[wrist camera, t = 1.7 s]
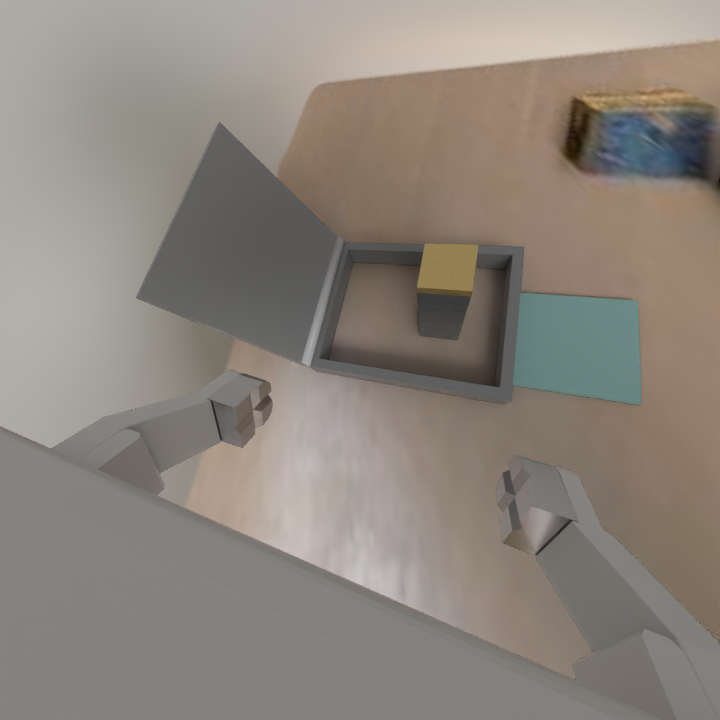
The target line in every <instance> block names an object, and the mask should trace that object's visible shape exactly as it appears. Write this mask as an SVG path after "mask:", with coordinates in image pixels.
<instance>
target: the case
mask: <svg viewBox="0 0 720 720" xmlns="http://www.w3.org/2000/svg"><path fill="white" fill-rule="evenodd" d="M424 246H425V244H391V243H350V242H345V240H344V239H343V238H342V237H339V236H338V237H337V236H336V235H335V234H334V233H333V232H332V231H331V230H330V229H329V228H328V227H327V226H326V225H325V224H323V223H322V222H321V221H320V220H319V219H318V218H317V217H316V216H315V215H314V214H313V213H312V212H311V211H310V210H309V209H308V208H307V207H306V206H305V205H304V204H303V203H302V202H301V201H300V200H299V199H298V198H297V197H296V196H295V195H294V194H293V193H292V192H291V191H290V190H289V189H288V188H287V187H286V186H285V185H284V184H283V183H282V182H280V181H279V180H278V179H277V178H276V177H275V176H274V175H273V174H272V173H271V172H270V171H269V170H268V169H267V168H266V167H265V166H264V165H263V164H262V163H261V162H260V161H259V160H258V159H257V158H256V157H255V156H254V155H253V154H252V153H251V152H250V151H249V150H248V149H247V148H246V147H244V145H243V144H242V143H240V141H238V140H237V139H236V138H235V137H234V136H233V135H232V134H231V133H230V132H229V131H228V130H227V129H226V128H225V127H224V126H223V125H222V124H221V123H219V124H218V125H217V126H216V128H215V130H214V132H213V134H212V136H211V138H210V141H209V143H208V145H207V147H206V149H205V151H204V153H203V155H202V158H201V160H200V162H199V164H198V166H197V168H196V170H195V173H194V175H193V177H192V179H191V181H190V183H189V185H188V187H187V190H186V192H185V194H184V196H183V199H182V201H181V203H180V205H179V207H178V209H177V211H176V213H175V215H174V217H173V220H172V222H171V224H170V226H169V228H168V230H167V232H166V234H165V237H164V239H163V241H162V243H161V245H160V247H159V250H158V251H157V254H156V256H155V258H154V260H153V262H152V264H151V266H150V269H149V271H148V273H147V275H146V277H145V279H144V282H143V284H142V286H141V288H140V290H139V292H138V294H137V297H136V298H137V299H139V300H142V301H144V302H147V303H149V304H152V305H154V306H156V307H159V308H162V309H164V310H167V311H169V312H171V313H174V314H177V315H179V316H181V317H184V318H186V319H189V320H191V321H194V322H197V323H199V324H201V325H204V326H206V327H209V328H211V329H214V330H216V331H219V332H221V333H224V334H227V335H229V336H231V337H234V338H236V339H239V340H241V341H244V342H246V343H249V344H251V345H254V346H256V347H259V348H261V349H264V350H266V351H269V352H271V353H274V354H276V355H279V356H281V357H283V358H286V359H288V360H289V361H293V362H296V363H298V364H301V365H305V366H309V367H311V368H312V369H314V370H315V371H317V372H323V373H328V374H334V375H340V376H345V377H351V378H357V379H362V380H368V381H374V382H379V383H385V384H391V385H396V386H402V387H408V388H413V389H419V390H425V391H430V392H436V393H442V394H447V395H453V396H459V397H464V398H470V399H476V400H481V401H487V402H493V403H498V404H506V403H508V402H510V401H512V389H513V377H514V365H515V353H516V341H517V329H518V317H519V305H520V293H521V281H522V269H523V257H524V247H514V246H478V253H477V260H476V268H485V269H506V273H505V283H504V293H503V303H502V313H501V323H500V333H499V343H498V353H497V363H496V373H495V383H494V387H493V386H487V385H481V384H474V383H468V382H462V381H456V380H449V379H443V378H437V377H431V376H425V375H418V374H412V373H406V372H400V371H393V370H387V369H381V368H375V367H368V366H362V365H356V364H350V363H344V362H337V361H331V360H328V358H329V354H330V350H331V346H332V343H333V339H334V335H335V331H336V327H337V323H338V319H339V316H340V312H341V308H342V304H343V300H344V296H345V292H346V289H347V285H348V281H349V277H350V273H351V269H352V265H353V262H356V263H378V264H399V265H421V262H422V257H423V252H424Z"/></svg>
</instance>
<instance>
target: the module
mask: <svg viewBox="0 0 720 720" xmlns="http://www.w3.org/2000/svg"><path fill="white" fill-rule="evenodd" d="M477 253H478V245H471V244H428V243H425V246H424V252H423V257H422V262H421V268H420V273H419V278H418V283H417V299H418V316H419V332H420V336H426V337H434V338H442V339H451V340H458V337H459V334H460V330H461V327H462V324H463V320H464V317H465V314H466V311H467V307H468V304H469V301H470V298H471V294H472V291H473V283H474V276H475V268H476V260H477Z"/></svg>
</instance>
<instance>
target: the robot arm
mask: <svg viewBox="0 0 720 720" xmlns="http://www.w3.org/2000/svg"><path fill="white" fill-rule="evenodd" d="M270 392H271V385H270V383H269V382H268V381H265V380H262V379H259V378H256V377H253V376H250V375H247V374H243V373H240V372H237V371H234V370H229V371H226V372H225V373H224V374H222V375H221V376H219V377H218V378H216V379H215V380H214V381H213V382H211V383H209V384H208V385H207V386H205V387H204V388H203V389H201V390H200V391H198V392H197V393H195V394H194V395H192V394H187V395H183V396H180V397H176V398H173V399H169V400H165V401H162V402H158V403H154V404H151V405H147V406H143V407H139V408H135V409H132V410H128V411H124V412H121V413H117V414H113V415H110V416H106V417H103V418H101V419H100V420H98V421H96V422H95V423H93V424H91V425H89V426H88V427H86V428H85V429H83V430H81V431H79V432H78V433H76V434H75V435H73V436H71V437H69V438H68V439H66V440H64V441H63V442H61V443H59V444H58V445H56V446H54V447H53V448H48V447H46V446H44V445H41V444H39V443H37V442H35V441H32V440H30V439H28V438H25V437H23V436H21V435H19V434H17V433H14V432H12V431H10V430H7V429H5V428H3V427H1V426H0V720H720V643H719V642H718V641H717V640H716V639H715V638H714V637H713V636H712V635H711V634H710V633H709V632H708V631H707V630H706V629H705V628H704V627H703V626H702V625H701V624H700V623H699V622H698V621H697V620H696V619H695V618H694V617H693V616H692V615H691V614H690V613H689V612H688V611H687V610H686V609H685V608H684V607H683V606H682V605H681V604H680V603H679V602H678V601H677V600H676V599H675V598H674V597H673V596H672V595H671V594H670V593H669V592H668V591H667V590H666V589H665V588H664V587H663V586H662V585H661V584H660V583H659V582H658V581H657V580H656V579H655V578H654V577H653V576H652V575H651V574H650V573H649V572H648V571H647V570H646V569H645V568H644V567H643V566H642V565H641V564H640V563H639V562H638V561H637V560H636V559H635V558H634V557H633V556H632V555H631V554H630V553H629V552H628V551H627V550H626V549H625V548H624V547H623V546H622V545H621V544H620V543H619V542H618V541H617V540H616V539H615V538H614V537H613V536H612V535H611V534H610V533H607V532H605V531H603V529H602V527H601V524H600V522H599V520H598V518H597V515H596V513H595V511H594V509H593V507H592V504H591V502H590V500H589V498H588V496H587V493H586V491H585V489H584V487H583V485H582V482H581V480H580V478H579V476H578V475H577V474H576V473H575V472H573V471H569V470H566V469H562V468H559V467H555V466H551V465H548V464H544V463H541V462H537V461H534V460H530V459H527V458H523V457H520V456H517V455H516V456H514V457H513V458H512V459H511V460H510V462H509V469H510V470H509V471H506V472H503V473H502V475H501V476H500V478H499V480H498V484H497V488H496V499H497V505H498V506H499V507H500V509H501V510H502V512H503V514H502V516H501V517H500V518H499V522H500V529H501V536H502V543H504V544H507V545H509V546H512V547H514V548H517V549H519V550H522V551H524V552H527V553H530V554H532V555H535V556H536V557H535V558H536V559H537V561H538V563H539V564H540V566H541V568H542V569H543V571H544V573H545V574H546V576H547V578H548V579H549V581H550V582H551V584H552V586H553V587H554V589H555V591H556V592H557V594H558V596H559V597H560V599H561V600H562V602H563V604H564V605H565V607H566V609H567V610H568V612H569V614H570V615H571V617H572V619H573V620H574V622H575V623H576V625H577V627H578V628H579V630H580V632H581V633H582V635H583V637H584V638H585V640H586V642H587V643H588V645H589V646H590V648H591V650H592V651H593V653H591V654H589V655H587V656H585V657H583V658H581V659H578V660H577V661H576V662H575V663H574V664H573V669H574V673H575V677H576V680H574V679H572V678H569V677H567V676H565V675H563V674H560V673H558V672H556V671H554V670H551V669H549V668H547V667H544V666H542V665H540V664H538V663H535V662H533V661H531V660H529V659H526V658H524V657H522V656H520V655H517V654H515V653H513V652H511V651H508V650H506V649H504V648H501V647H499V646H497V645H495V644H492V643H490V642H488V641H486V640H483V639H481V638H479V637H477V636H474V635H472V634H470V633H468V632H465V631H463V630H461V629H458V628H456V627H454V626H452V625H449V624H447V623H445V622H443V621H440V620H438V619H436V618H434V617H431V616H429V615H427V614H424V613H422V612H420V611H418V610H415V609H413V608H411V607H409V606H406V605H404V604H402V603H400V602H397V601H395V600H393V599H391V598H388V597H386V596H384V595H381V594H379V593H377V592H375V591H372V590H370V589H368V588H366V587H363V586H361V585H359V584H357V583H354V582H352V581H350V580H347V579H345V578H343V577H341V576H338V575H336V574H334V573H332V572H329V571H327V570H325V569H323V568H320V567H318V566H316V565H314V564H311V563H309V562H307V561H304V560H302V559H300V558H298V557H295V556H293V555H291V554H289V553H286V552H284V551H282V550H280V549H277V548H275V547H273V546H271V545H268V544H266V543H264V542H261V541H259V540H257V539H255V538H252V537H250V536H248V535H246V534H243V533H241V532H239V531H237V530H234V529H232V528H230V527H227V526H225V525H223V524H221V523H218V522H216V521H214V520H212V519H209V518H207V517H205V516H202V515H200V514H198V513H196V512H193V511H191V510H189V509H187V508H184V507H182V506H180V505H178V504H175V503H173V502H171V501H168V500H166V499H164V498H162V497H159V496H157V495H158V494H159V493H160V492H161V491H162V490H163V489H164V485H165V484H164V482H163V480H162V478H161V476H160V473H161V472H163V471H165V470H167V469H169V468H171V467H173V466H175V465H177V464H179V463H181V462H183V461H185V460H187V459H189V458H190V457H193V456H195V455H197V454H198V453H201V452H203V451H205V450H207V449H208V448H210V447H212V446H214V445H216V444H218V443H220V442H221V441H223V442H226V443H229V444H232V445H235V446H238V447H241V448H243V447H244V446H245V445H246V444H247V443H248V442H249V440H250V439H251V438H252V437H253V436H254V435H255V428H257V427H259V426H262V425H264V423H265V422H266V421H267V420H268V418H269V416H270V414H271V412H272V406H273V404H272V399H271V398H270V396H269V395H268V394H269V393H270Z"/></svg>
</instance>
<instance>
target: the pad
mask: <svg viewBox="0 0 720 720" xmlns="http://www.w3.org/2000/svg"><path fill="white" fill-rule="evenodd" d="M513 386H519V387H525V388H532V389H538V390H545V391H551V392H557V393H564V394H570V395H577V396H583V397H589V398H596V399H602V400H608V401H615V402H621V403H628V404H634V405H642V402H641V373H640V345H639V316H638V300H623V299H608V298H593V297H578V296H564V295H549V294H534V293H520V305H519V317H518V329H517V341H516V353H515V365H514V377H513Z"/></svg>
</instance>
